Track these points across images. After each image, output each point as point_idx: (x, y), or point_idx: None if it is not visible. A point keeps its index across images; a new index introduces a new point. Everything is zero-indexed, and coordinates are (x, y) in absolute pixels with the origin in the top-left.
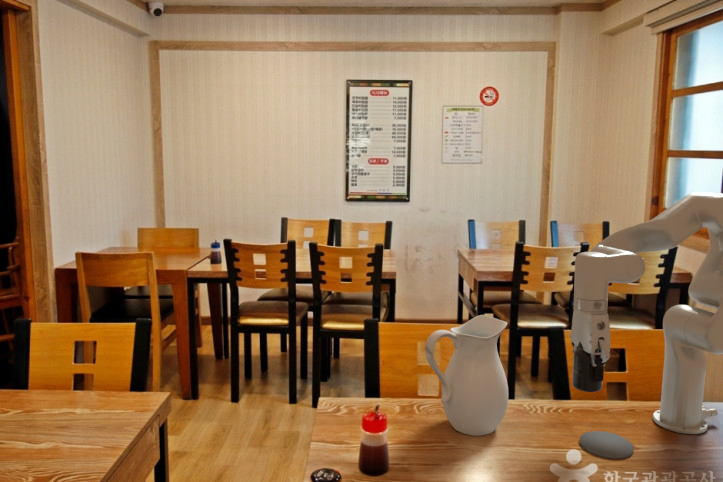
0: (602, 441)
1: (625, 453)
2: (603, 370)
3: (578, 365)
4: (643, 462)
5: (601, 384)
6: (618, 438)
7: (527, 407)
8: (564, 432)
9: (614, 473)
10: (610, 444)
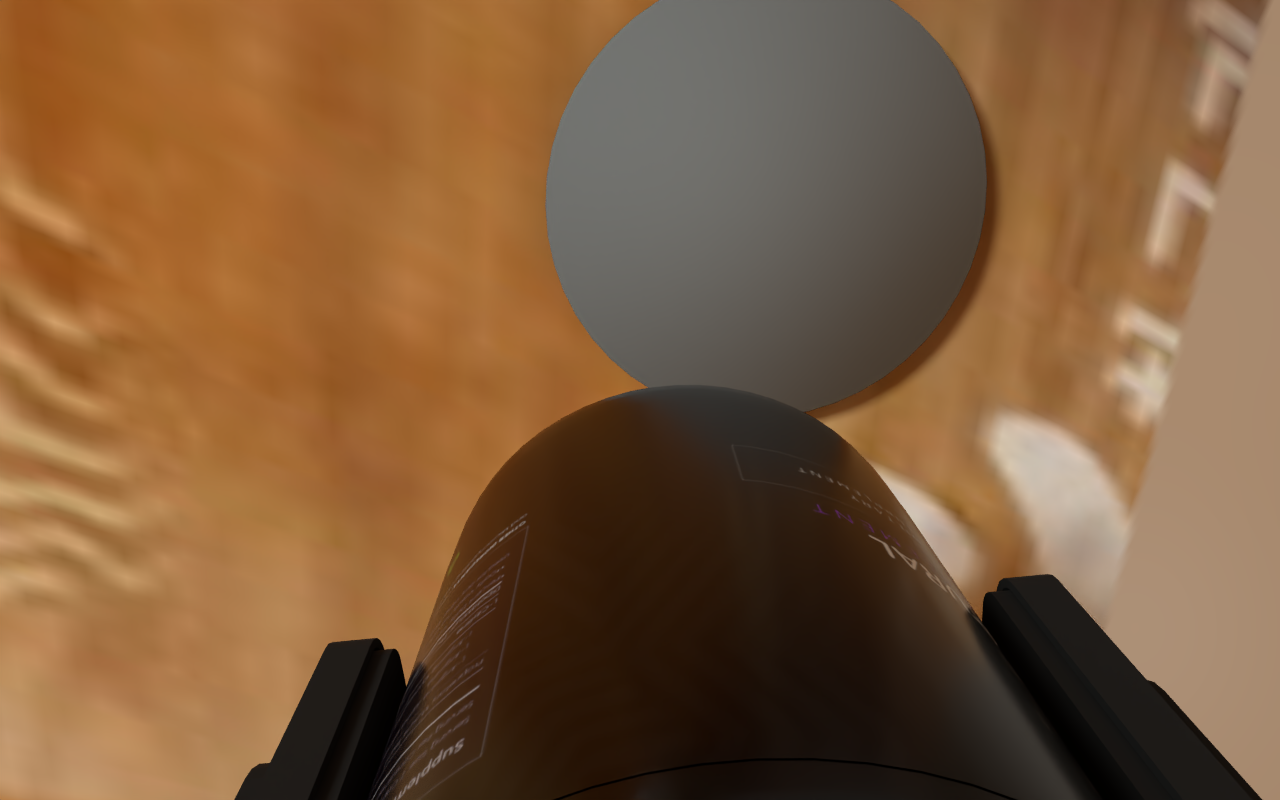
0: (740, 231)
1: (964, 131)
2: (1171, 715)
3: None
4: (1063, 16)
5: (872, 475)
6: (701, 49)
7: (31, 578)
8: (506, 447)
9: (1152, 342)
10: (798, 185)
